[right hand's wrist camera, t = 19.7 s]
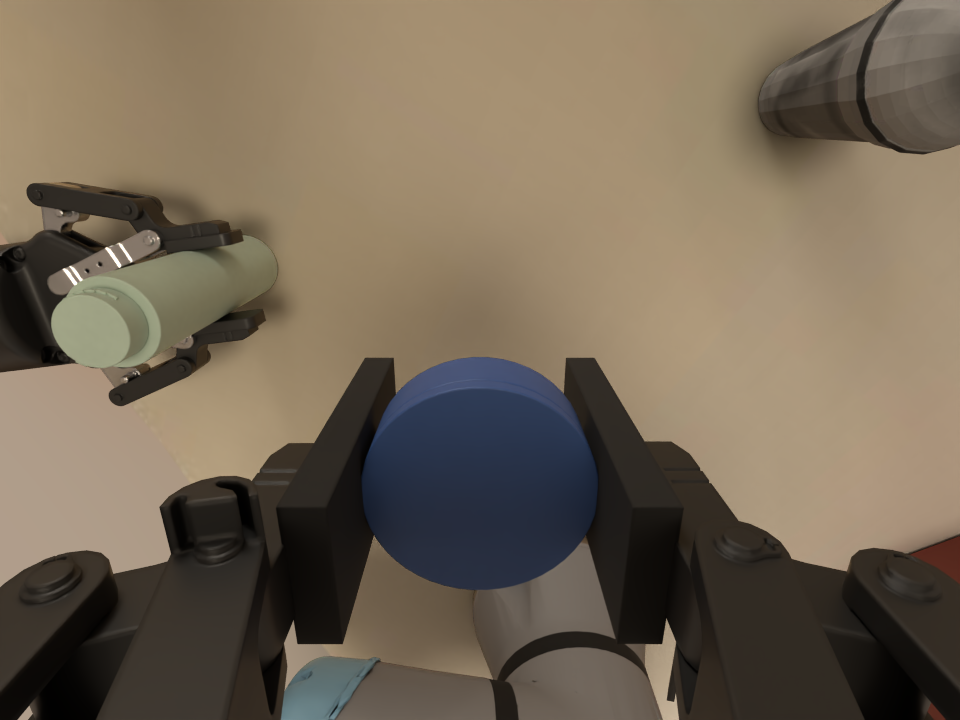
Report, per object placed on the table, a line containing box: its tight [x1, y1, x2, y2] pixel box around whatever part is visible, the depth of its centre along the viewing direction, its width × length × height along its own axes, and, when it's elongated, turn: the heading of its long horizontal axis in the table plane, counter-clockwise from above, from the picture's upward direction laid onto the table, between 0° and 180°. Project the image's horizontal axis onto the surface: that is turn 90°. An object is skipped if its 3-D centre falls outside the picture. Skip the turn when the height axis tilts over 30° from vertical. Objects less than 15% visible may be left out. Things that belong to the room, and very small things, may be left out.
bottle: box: [51, 235, 278, 368], centre depth 30 cm, size 4×4×16 cm
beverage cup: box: [758, 0, 960, 154], centre depth 24 cm, size 7×7×20 cm
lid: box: [361, 357, 598, 590], centre depth 11 cm, size 5×5×2 cm
